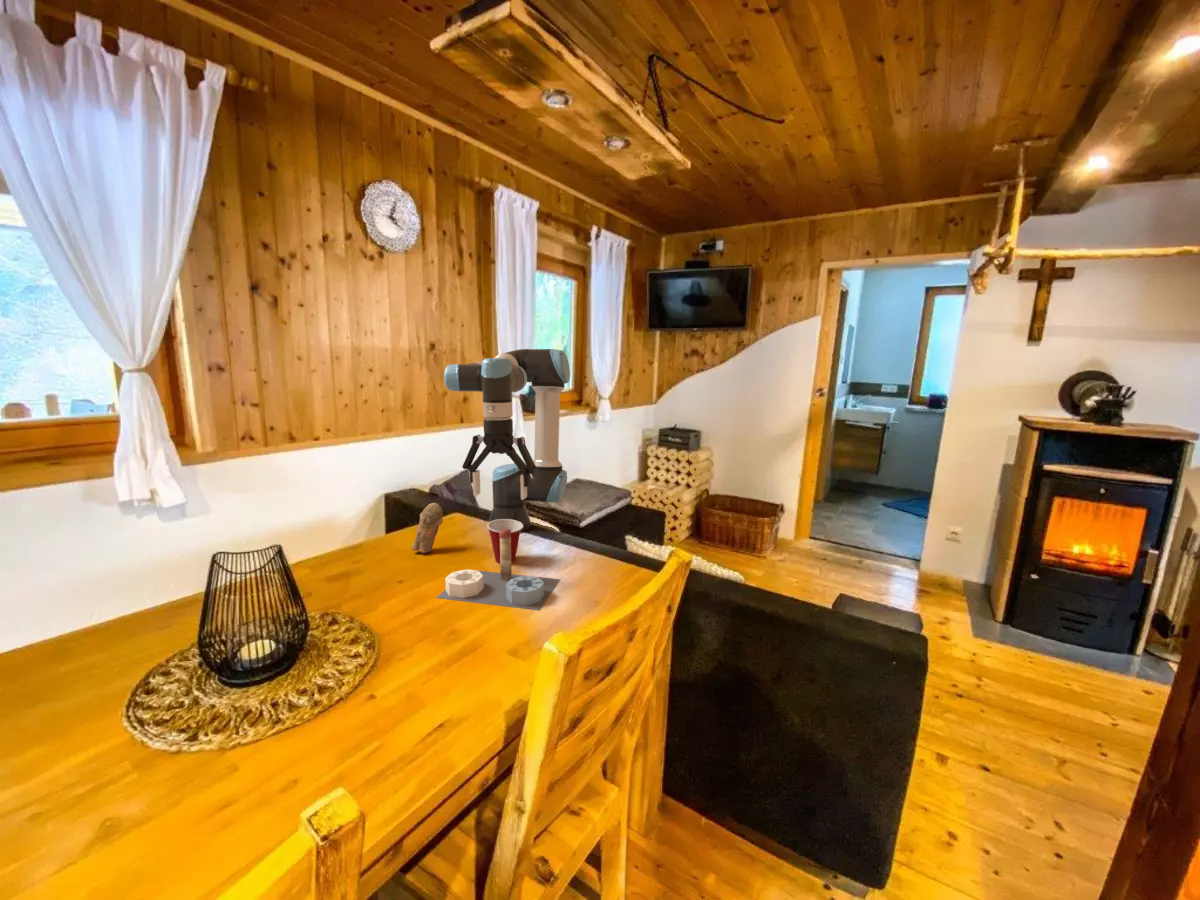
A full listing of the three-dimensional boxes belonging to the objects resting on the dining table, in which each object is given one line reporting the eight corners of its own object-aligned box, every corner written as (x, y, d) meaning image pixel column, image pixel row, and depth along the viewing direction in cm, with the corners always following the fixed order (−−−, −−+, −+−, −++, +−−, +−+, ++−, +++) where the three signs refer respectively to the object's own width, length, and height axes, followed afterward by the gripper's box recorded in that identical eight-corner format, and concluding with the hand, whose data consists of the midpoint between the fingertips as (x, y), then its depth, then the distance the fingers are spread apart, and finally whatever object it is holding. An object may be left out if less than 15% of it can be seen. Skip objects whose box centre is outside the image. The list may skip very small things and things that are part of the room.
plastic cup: (511, 571, 145) (510, 532, 143) (480, 565, 149) (479, 526, 147) (530, 558, 155) (530, 521, 153) (501, 552, 159) (500, 516, 157)
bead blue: (515, 587, 134) (515, 574, 134) (547, 590, 132) (547, 578, 132) (501, 602, 125) (501, 589, 125) (536, 606, 124) (535, 593, 123)
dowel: (503, 575, 141) (502, 528, 139) (513, 576, 141) (512, 529, 138) (498, 580, 138) (497, 532, 136) (509, 581, 138) (508, 533, 135)
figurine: (410, 553, 157) (407, 508, 154) (426, 544, 164) (423, 501, 162) (433, 557, 154) (430, 510, 152) (448, 548, 162) (446, 503, 159)
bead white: (457, 580, 138) (456, 568, 137) (487, 584, 136) (487, 571, 135) (440, 595, 129) (439, 582, 128) (472, 599, 127) (472, 586, 126)
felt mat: (468, 570, 145) (468, 569, 145) (560, 580, 139) (560, 579, 139) (435, 599, 128) (435, 597, 128) (539, 611, 122) (539, 610, 122)
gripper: (447, 418, 129) (451, 496, 133) (538, 421, 124) (539, 503, 128) (461, 414, 136) (464, 489, 140) (548, 418, 131) (548, 495, 135)
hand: (500, 496), depth 134 cm, fingers open, 13 cm apart
